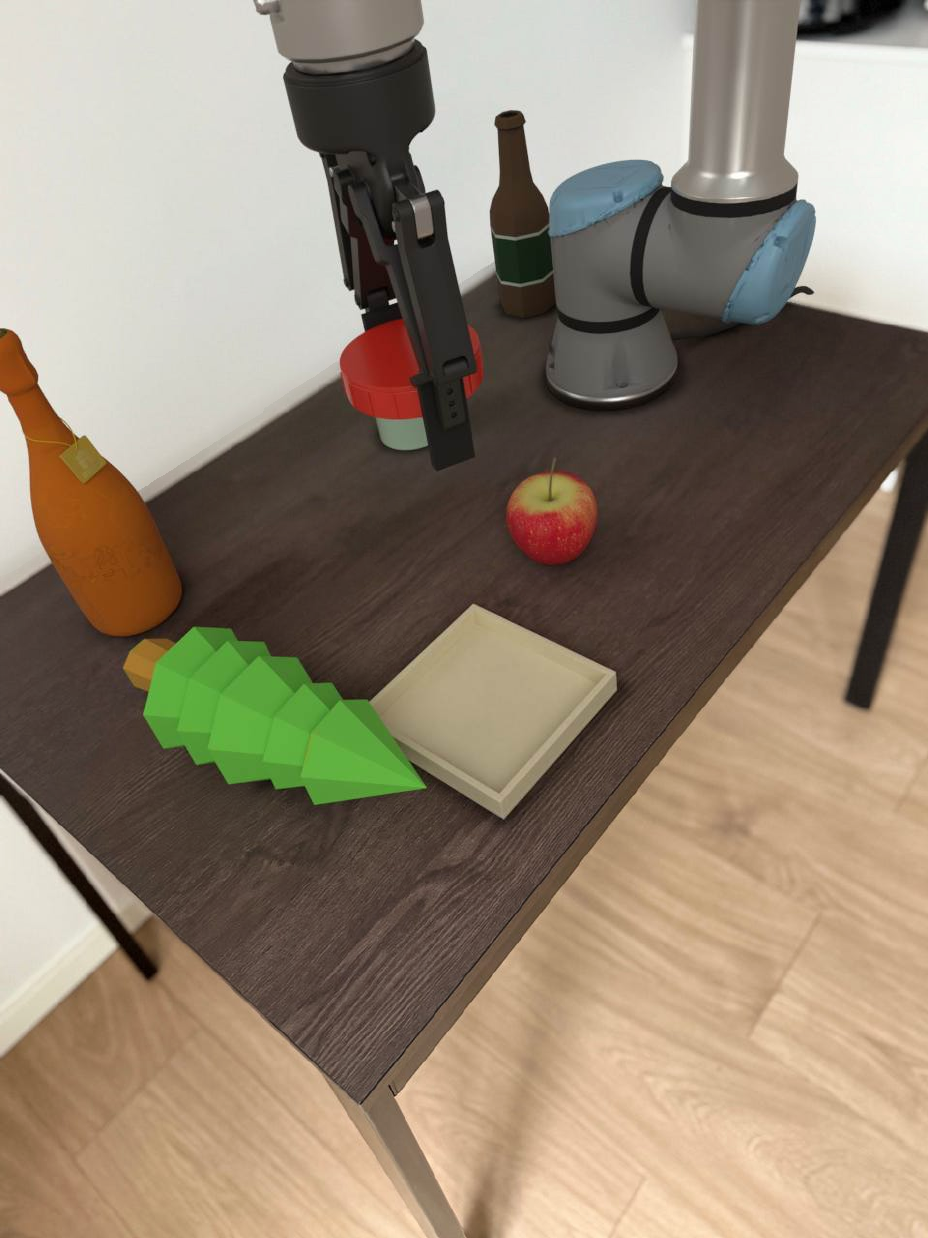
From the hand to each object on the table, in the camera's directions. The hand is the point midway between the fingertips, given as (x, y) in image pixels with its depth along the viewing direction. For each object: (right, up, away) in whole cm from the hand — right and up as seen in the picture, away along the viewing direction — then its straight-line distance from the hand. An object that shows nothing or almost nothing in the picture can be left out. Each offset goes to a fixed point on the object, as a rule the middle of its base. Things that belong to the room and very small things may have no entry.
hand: (425, 426), depth 64 cm
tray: (+5, -21, +15) cm, 26 cm away
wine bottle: (-30, -12, +31) cm, 45 cm away
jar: (-3, +9, +47) cm, 48 cm away
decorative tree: (-12, -25, +14) cm, 31 cm away
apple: (+11, -7, +28) cm, 31 cm away
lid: (-1, +4, -4) cm, 5 cm away
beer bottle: (+11, +29, +65) cm, 72 cm away
